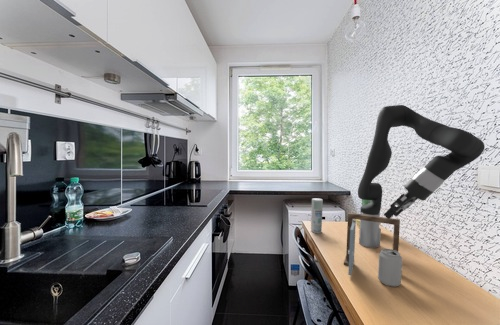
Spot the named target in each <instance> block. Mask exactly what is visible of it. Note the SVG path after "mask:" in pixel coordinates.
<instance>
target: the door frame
mask: <svg viewBox="0 0 500 325" xmlns="http://www.w3.org/2000/svg"><path fill="white" fill-rule="evenodd" d="M353 219H358V220H365V221H372V222H379V223H381V224H387V225H393V237H392V238H393V240H392V250H396V251H398V252H399V246H400V245H399V244H400V243H399V242H400V227H401V226H400V225H401V220H400V219H399V218H392V217H391V218H390V219H388V218H387V217H385V216H380V217H378V216H371V215H363V214H360V213H355V212H347V228H346V229H347V231H346V232H347V233H346V250H345V254H346V255H345V257H344V260H343V265H344V266H348V267H349V254H348V250H349V248H350V229H351V226H352V223H353Z"/></svg>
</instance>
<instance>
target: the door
mask: <svg viewBox="0 0 500 325" xmlns="http://www.w3.org/2000/svg"><path fill="white" fill-rule="evenodd" d="M356 227H357V224H356V221H355V220H353V221H352V226H351V229H350V248H349V250H348V254H349V266H348V272H347V273H348V274H347V275H349V276H352V274H353V273H352V272H353V268H354V263H355V249H356V248H355V246H356V244H355V243H356V241H355V240H356Z"/></svg>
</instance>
